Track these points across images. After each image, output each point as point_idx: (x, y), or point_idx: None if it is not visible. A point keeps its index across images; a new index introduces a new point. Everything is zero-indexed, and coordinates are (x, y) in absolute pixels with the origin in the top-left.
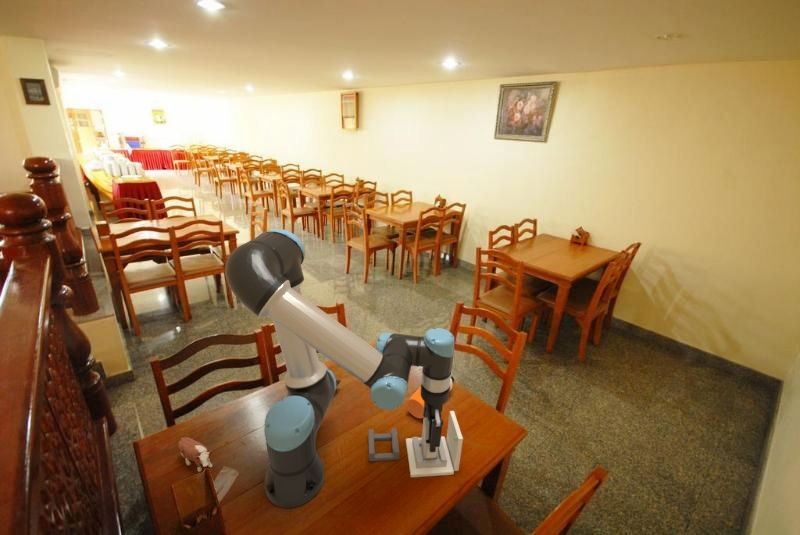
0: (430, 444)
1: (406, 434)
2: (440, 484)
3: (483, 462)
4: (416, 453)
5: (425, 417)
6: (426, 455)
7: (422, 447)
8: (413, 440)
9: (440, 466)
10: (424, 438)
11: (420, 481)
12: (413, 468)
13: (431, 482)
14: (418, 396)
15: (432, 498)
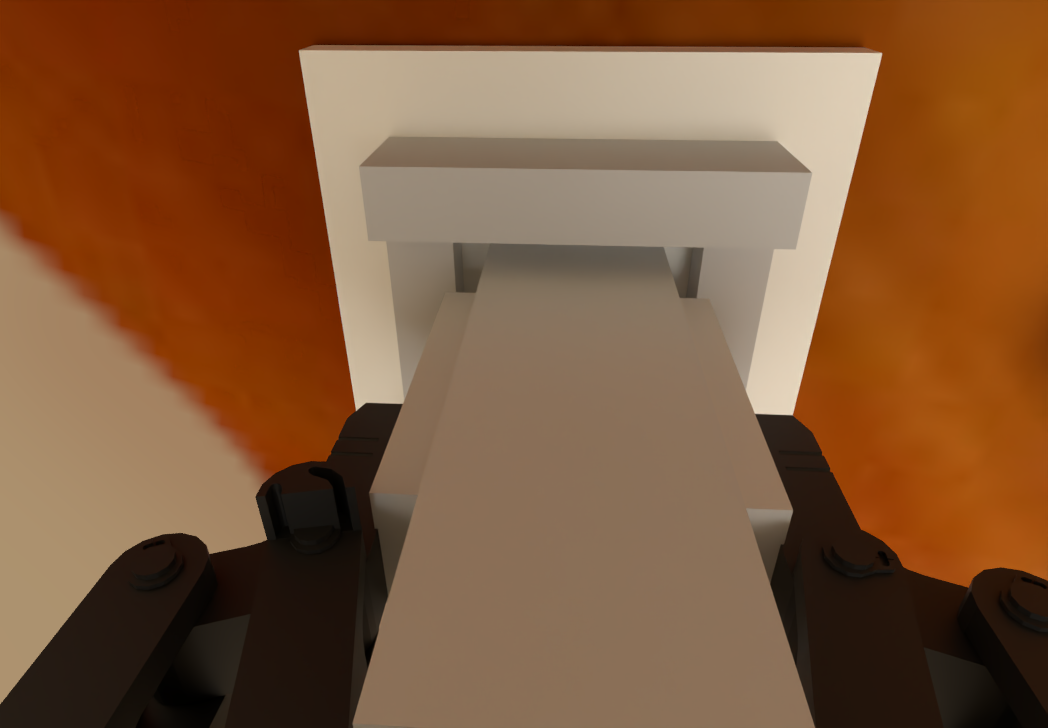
0: (133, 583)
1: (972, 75)
2: (269, 341)
3: None
4: (501, 182)
5: (869, 709)
6: (439, 314)
7: (592, 282)
8: (739, 173)
9: None
10: (498, 425)
11: (276, 155)
12: (386, 97)
13: (279, 266)
14: None
15: (114, 243)
